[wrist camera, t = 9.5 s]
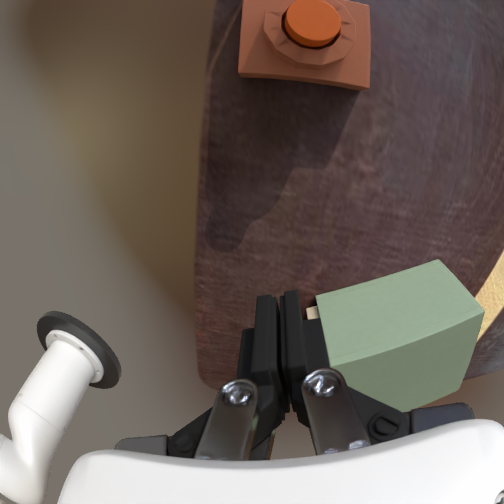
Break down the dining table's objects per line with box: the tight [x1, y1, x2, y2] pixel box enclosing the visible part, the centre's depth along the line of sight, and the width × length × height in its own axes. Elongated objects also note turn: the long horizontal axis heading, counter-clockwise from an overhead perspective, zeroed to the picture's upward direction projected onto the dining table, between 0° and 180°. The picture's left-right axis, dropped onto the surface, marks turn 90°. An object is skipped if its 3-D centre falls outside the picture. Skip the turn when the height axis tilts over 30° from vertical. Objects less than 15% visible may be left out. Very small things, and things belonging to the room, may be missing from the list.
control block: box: [238, 0, 370, 91], centre depth 15 cm, size 10×8×4 cm
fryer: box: [315, 259, 485, 412], centre depth 25 cm, size 15×13×10 cm
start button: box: [285, 0, 341, 47], centre depth 13 cm, size 4×4×2 cm
